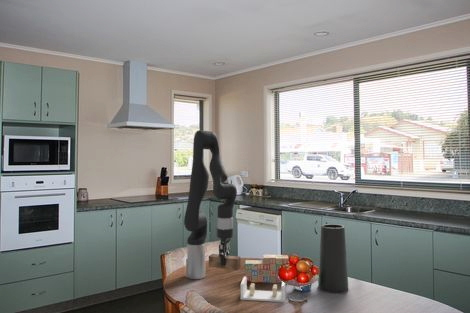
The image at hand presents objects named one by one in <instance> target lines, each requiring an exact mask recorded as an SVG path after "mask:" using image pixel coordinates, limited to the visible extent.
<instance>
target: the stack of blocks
mask: <svg viewBox="0 0 470 313" xmlns="http://www.w3.org/2000/svg"><path fill="white" fill-rule="evenodd" d="M262 256H263V260H256V259H254V260H251V259H249V260H248V259H246V260H245V263H244V268H245V269H244V272H245V274H244V277H247V283H273V284H275V283H276V284H282V282H281V281H280V280H279V278H278V268H279V267H280V266H281V265H282V264H286V263H288V264H289V256H288V254H285V255H284V254H263V255H262Z"/></svg>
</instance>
